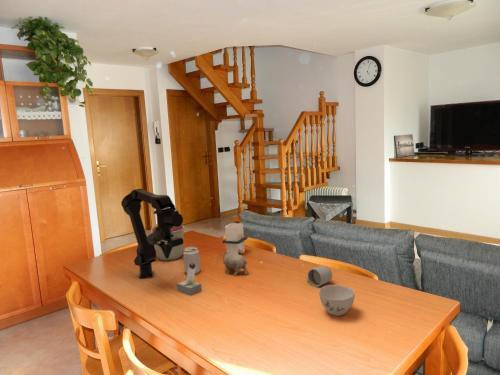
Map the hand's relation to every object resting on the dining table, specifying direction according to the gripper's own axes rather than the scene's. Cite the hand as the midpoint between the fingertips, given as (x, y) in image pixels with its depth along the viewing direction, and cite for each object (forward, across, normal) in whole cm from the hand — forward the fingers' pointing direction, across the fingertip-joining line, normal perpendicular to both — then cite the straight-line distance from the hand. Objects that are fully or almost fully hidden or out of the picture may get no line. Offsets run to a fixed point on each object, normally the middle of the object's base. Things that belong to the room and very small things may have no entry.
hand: (167, 258), depth 173 cm
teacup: (+12, +74, +19) cm, 78 cm away
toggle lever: (+8, +14, 0) cm, 17 cm away
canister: (+12, -30, +24) cm, 40 cm away
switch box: (+12, +14, 0) cm, 19 cm away
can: (+12, -2, +16) cm, 20 cm away
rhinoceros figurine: (+12, +14, +27) cm, 33 cm away
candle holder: (+12, -4, +48) cm, 49 cm away
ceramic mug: (+12, +55, +37) cm, 67 cm away
